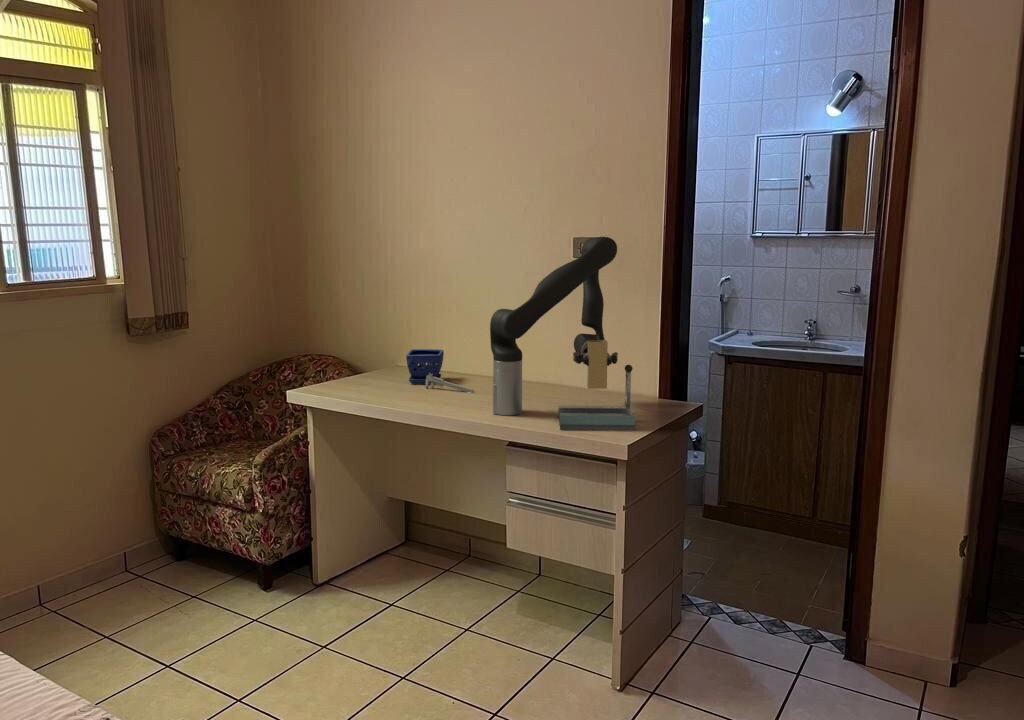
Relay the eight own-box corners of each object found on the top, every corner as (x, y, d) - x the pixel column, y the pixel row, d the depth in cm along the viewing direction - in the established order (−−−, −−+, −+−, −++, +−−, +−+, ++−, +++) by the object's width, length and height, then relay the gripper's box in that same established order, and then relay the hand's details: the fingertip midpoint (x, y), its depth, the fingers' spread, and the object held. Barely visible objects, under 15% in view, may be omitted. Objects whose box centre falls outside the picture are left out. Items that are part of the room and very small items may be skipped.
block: (587, 385, 238) (587, 339, 236) (605, 385, 238) (606, 339, 236) (588, 388, 234) (588, 342, 232) (606, 388, 234) (607, 342, 232)
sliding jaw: (558, 414, 246) (559, 363, 243) (630, 414, 246) (632, 364, 243) (558, 416, 243) (559, 365, 240) (632, 417, 242) (633, 366, 239)
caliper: (425, 389, 292) (425, 372, 290) (426, 388, 292) (426, 372, 291) (475, 394, 284) (475, 376, 283) (476, 393, 285) (476, 376, 283)
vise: (558, 417, 248) (558, 404, 247) (628, 417, 247) (628, 404, 247) (560, 430, 232) (560, 416, 231) (635, 430, 231) (635, 416, 231)
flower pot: (441, 385, 297) (440, 354, 295) (406, 385, 298) (405, 354, 296) (444, 379, 310) (444, 349, 309) (410, 378, 311) (410, 348, 309)
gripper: (570, 340, 249) (573, 349, 232) (616, 340, 248) (622, 349, 232) (570, 364, 250) (573, 374, 233) (616, 364, 250) (622, 374, 233)
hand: (598, 362), depth 232 cm, fingers closed on block, 5 cm apart
